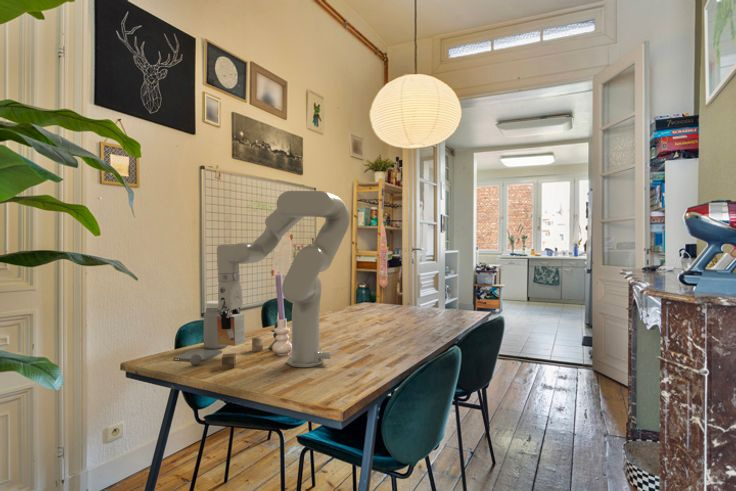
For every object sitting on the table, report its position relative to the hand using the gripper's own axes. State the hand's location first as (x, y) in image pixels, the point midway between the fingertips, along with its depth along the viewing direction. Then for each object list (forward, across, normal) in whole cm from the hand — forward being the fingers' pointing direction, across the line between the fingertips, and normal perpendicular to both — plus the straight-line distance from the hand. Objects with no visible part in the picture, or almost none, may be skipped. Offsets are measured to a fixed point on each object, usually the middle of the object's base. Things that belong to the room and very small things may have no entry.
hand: (230, 326), depth 149 cm
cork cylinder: (+11, +10, -5) cm, 16 cm away
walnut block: (+12, -11, -4) cm, 16 cm away
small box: (+6, 0, 0) cm, 6 cm away
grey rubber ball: (+11, -11, +8) cm, 17 cm away
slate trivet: (+11, -1, +13) cm, 17 cm away
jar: (+11, +13, +13) cm, 22 cm away
